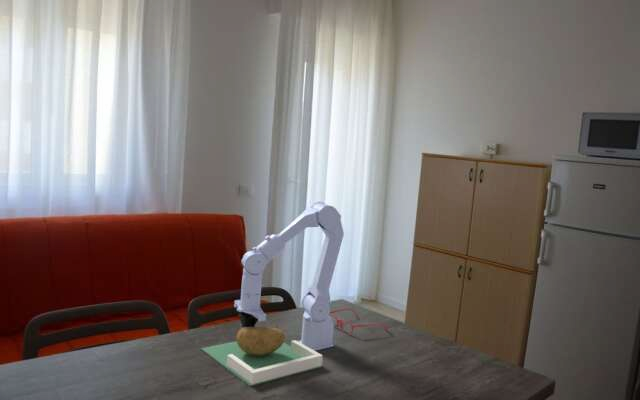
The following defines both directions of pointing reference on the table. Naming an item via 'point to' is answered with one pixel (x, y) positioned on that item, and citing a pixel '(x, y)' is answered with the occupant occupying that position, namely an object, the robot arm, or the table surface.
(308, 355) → the white angular frame
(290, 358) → the green mat
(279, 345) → the potato
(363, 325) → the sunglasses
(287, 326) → the table surface
